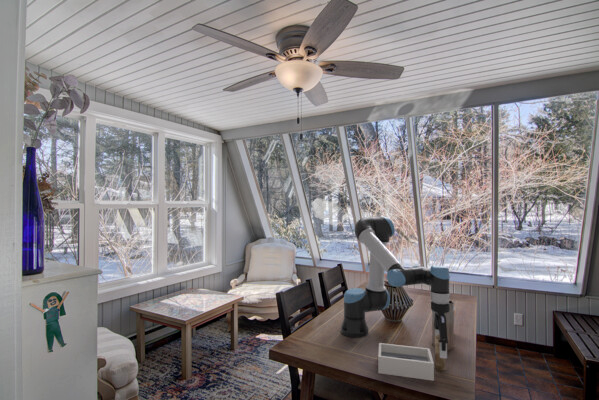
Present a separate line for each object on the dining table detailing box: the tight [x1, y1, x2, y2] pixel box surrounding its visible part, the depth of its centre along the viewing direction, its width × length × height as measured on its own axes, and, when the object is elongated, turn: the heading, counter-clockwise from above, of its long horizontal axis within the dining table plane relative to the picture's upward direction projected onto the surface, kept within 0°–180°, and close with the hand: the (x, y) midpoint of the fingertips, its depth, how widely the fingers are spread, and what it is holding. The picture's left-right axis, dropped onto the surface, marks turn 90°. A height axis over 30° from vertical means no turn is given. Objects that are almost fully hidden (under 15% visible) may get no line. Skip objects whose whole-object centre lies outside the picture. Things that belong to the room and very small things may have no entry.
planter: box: [431, 299, 455, 351], centre depth 163 cm, size 10×10×23 cm
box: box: [377, 342, 435, 382], centre depth 140 cm, size 22×14×7 cm, turn 75°
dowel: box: [434, 335, 446, 372], centre depth 140 cm, size 4×4×14 cm
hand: (440, 350), depth 140 cm, fingers open, 13 cm apart
